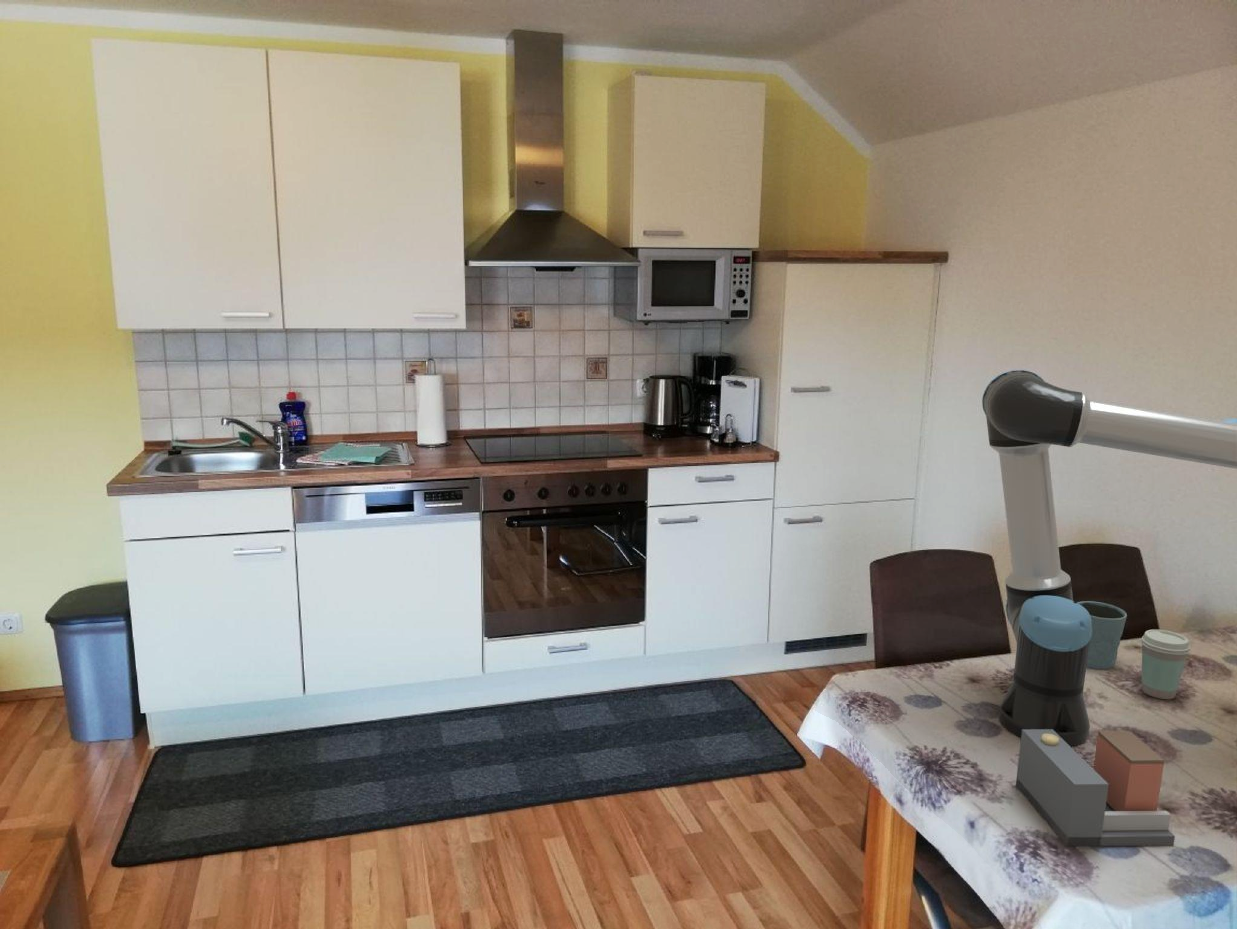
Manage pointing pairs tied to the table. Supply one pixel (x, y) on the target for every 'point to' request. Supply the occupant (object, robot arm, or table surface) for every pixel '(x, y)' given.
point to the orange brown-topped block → (1128, 771)
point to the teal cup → (1104, 633)
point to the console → (1080, 797)
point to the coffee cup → (1163, 662)
